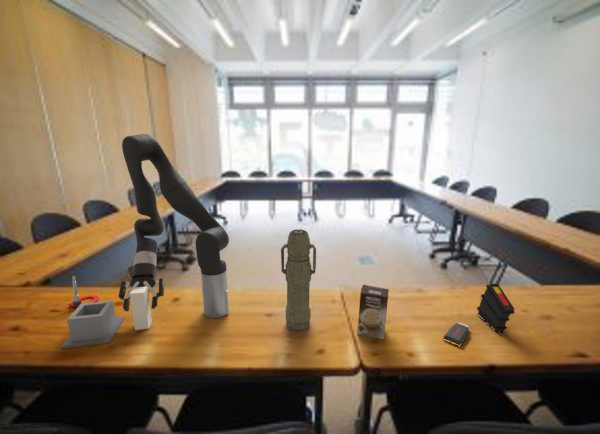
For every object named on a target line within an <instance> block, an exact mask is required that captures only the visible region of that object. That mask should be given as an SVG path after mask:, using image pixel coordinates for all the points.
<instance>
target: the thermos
mask: <svg viewBox="0 0 600 434" xmlns="http://www.w3.org/2000/svg"><path fill="white" fill-rule="evenodd" d="M286 242H287V243H284V244H283V245H282V247H281V248H280V256H281V257H280V260H281V263H280V264H281V273H282V274H283V275H285V281H286V306H285V327H286V328H287V329H289V330H290V331H293V332H294V331H295V332H302V331H305V330H307V329H308V328H309V327H311V326H310V325H311V312H312V310H311V308H310V288H311V287H310V283H311V280H312V276H313V275H314V274H316V269H317V248H316V247H315V244H313V243H311V239H310V236H309V233H308V231H306V230H305V229H301V228H300V229H299V228H298V229H293V230H291V231H290V232H289V234H288V236H287V241H286ZM285 249H287V251H286V253H287V256H286V257H287V258H286V259H287V261H286V263H285ZM311 249H312V251H313V252H312V264H311V260H310V259H311V258H310V254H311Z"/></svg>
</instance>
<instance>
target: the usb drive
mask: <svg viewBox="0 0 600 434" xmlns="http://www.w3.org/2000/svg"><path fill="white" fill-rule="evenodd" d="M469 332H470V331H469V325H467V324H464V323H463V322H457V323H454V324H453V325H452V326H450V328H449V329H448V330H447V332H446V333H445V334H444V335H443V339H446V340H449V341H451V342H454V343H456V344H458V345H460V344H461V343H462V342H463V340H464V339H465V338H466V336H467V335H468V336H469ZM468 336H467V337H468ZM466 339H467V338H466ZM466 339H465V340H466ZM463 343H464V342H463Z"/></svg>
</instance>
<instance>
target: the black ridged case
mask: <svg viewBox="0 0 600 434" xmlns="http://www.w3.org/2000/svg"><path fill="white" fill-rule="evenodd" d="M485 287H486V289H485V290H484V293H482V294H481V295H480V298H481V299H480V303H479V306H477V308H476V309H477V311H478V312H477V315H478V314H479V315H480V316H481V317H482V318H483V319H484V320H485V321H486V322H487V323H488V324H489V325H490V326H492V327H493V328H494V329H495V330H496V331H504V332H505V330H507V329H508V327H507V326H506V325H507V322H509V321H510V318H509V317H510V316H511V314H515V312H516V311H515V308H514V306H513V304H512V303H511V301H510V299H509V298H508V297H507V295H506V294H505V292H504V291H503V289H502V288H501V286H500V285H499V284H498V283H490V284H487V285H485ZM488 324H487V325H488ZM489 325H488V326H489ZM490 326H489V327H490Z"/></svg>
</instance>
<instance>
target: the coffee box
mask: <svg viewBox="0 0 600 434" xmlns="http://www.w3.org/2000/svg"><path fill="white" fill-rule="evenodd" d="M389 293H390V291H389V288H385V287H379V286H373V285H367V284H362V286H361V289H360V295H359V296H360V297H359V308H358V309H359V310H358V318H357V319H358V320H357V332H356V334H357V335H359V336H364V337H367V336H368V338H372V337H374V338H373V339H376V338H379V339H378V340H381V339H385V331H386V323H387V321H386V320H387V311H388V302H389Z"/></svg>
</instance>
